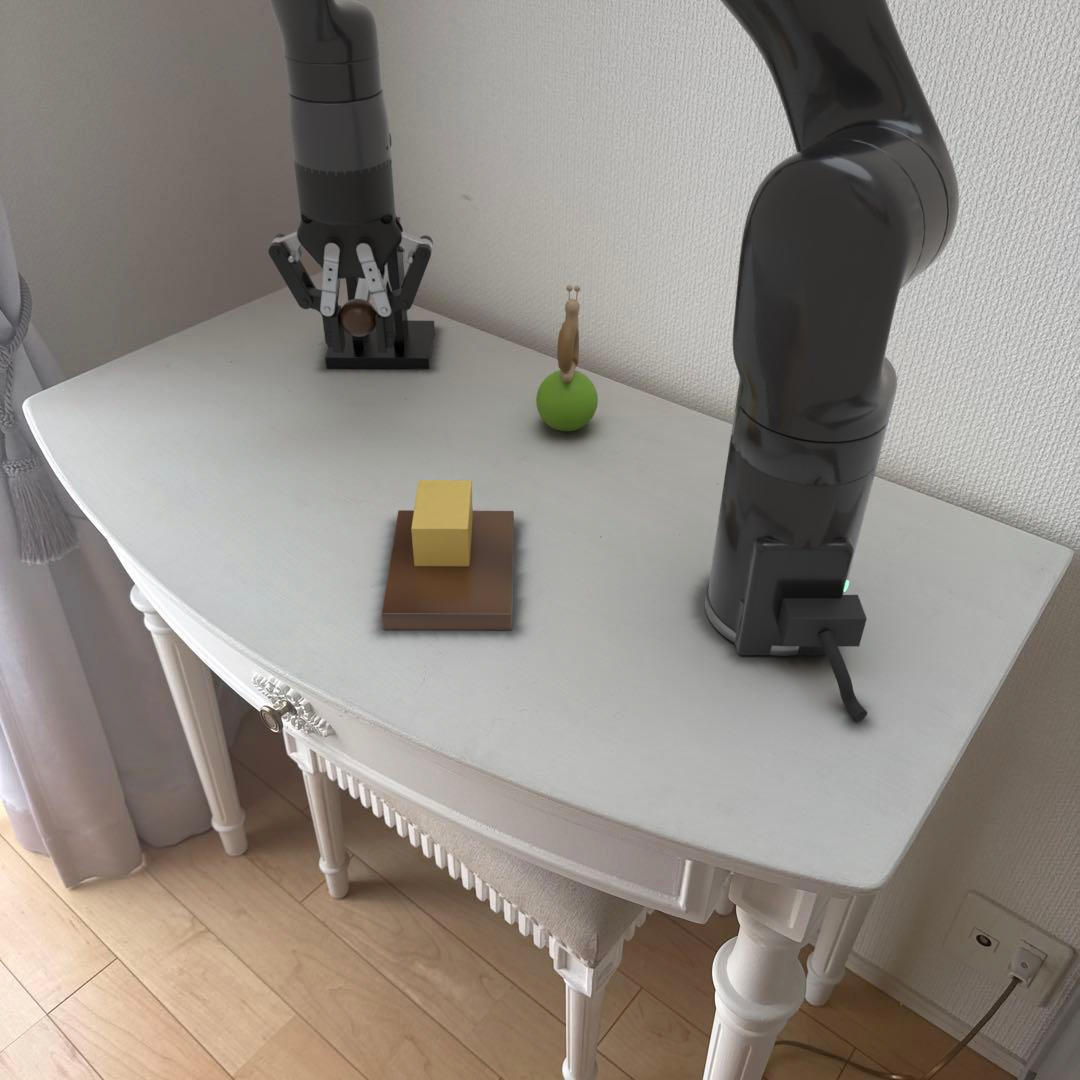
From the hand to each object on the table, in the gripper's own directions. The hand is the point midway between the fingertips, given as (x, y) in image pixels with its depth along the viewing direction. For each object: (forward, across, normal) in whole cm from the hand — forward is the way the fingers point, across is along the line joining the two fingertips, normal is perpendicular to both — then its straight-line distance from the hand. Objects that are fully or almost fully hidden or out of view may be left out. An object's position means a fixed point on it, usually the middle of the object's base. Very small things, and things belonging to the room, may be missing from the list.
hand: (362, 349), depth 92 cm
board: (+6, +9, -23) cm, 26 cm away
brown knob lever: (-2, 0, +6) cm, 6 cm away
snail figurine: (+6, +18, -2) cm, 19 cm away
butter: (+5, +8, -21) cm, 23 cm away
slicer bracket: (+6, 0, +12) cm, 13 cm away
